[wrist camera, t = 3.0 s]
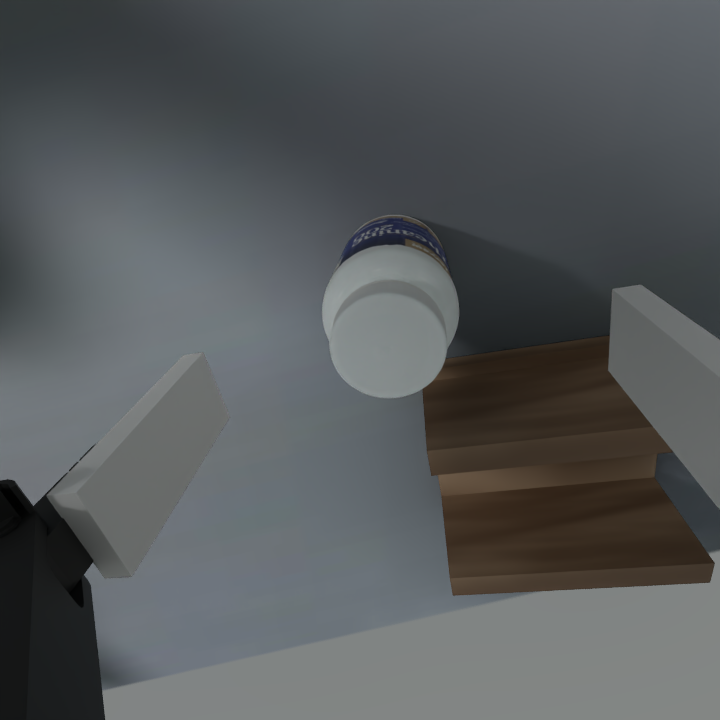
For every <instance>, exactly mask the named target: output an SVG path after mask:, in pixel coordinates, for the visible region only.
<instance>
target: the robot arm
mask: <svg viewBox="0 0 720 720" xmlns="http://www.w3.org/2000/svg"><path fill="white" fill-rule="evenodd" d="M608 371H609V372H610V373H611V375H612V376H613V377H614V378H615V380H616V381H617V382H618V383H619V385H620V386H621V387H622V388H623V390H624V391H625V392H626V393H627V395H628V396H629V397H630V398H631V400H632V401H633V402H634V403H635V405H636V406H637V407H638V408H639V410H640V411H641V412H642V413H643V415H644V416H645V417H646V418H647V420H648V421H649V422H650V423H651V425H652V426H653V427H654V428H655V430H656V431H657V432H658V433H659V435H660V436H661V437H662V438H663V440H664V441H665V442H666V443H667V445H668V446H669V447H670V448H671V450H672V451H673V452H674V453H675V455H676V456H677V457H678V458H679V460H680V461H681V462H682V463H683V465H684V466H685V467H686V468H687V470H688V471H689V472H690V473H691V475H692V476H693V477H694V478H695V480H696V481H697V482H698V483H699V485H700V486H701V487H702V488H703V490H704V491H705V492H706V493H707V495H708V496H709V497H710V498H711V500H712V501H713V502H714V503H715V505H716V506H717V507H718V508H719V510H720V340H719V339H718V338H716V337H715V336H714V335H712V334H711V333H709V332H708V331H706V330H705V329H704V328H702V327H701V326H699V325H698V324H696V323H695V322H694V321H692V320H691V319H689V318H688V317H686V316H685V315H684V314H682V313H681V312H679V311H678V310H676V309H675V308H674V307H672V306H671V305H669V304H668V303H666V302H665V301H664V300H662V299H661V298H659V297H658V296H656V295H655V294H654V293H652V292H651V291H649V290H648V289H647V288H645V287H644V286H642V285H635V286H628V287H622V288H615V289H612V303H611V323H610V343H609V364H608ZM229 418H230V415H229V413H228V411H227V408H226V406H225V403H224V401H223V399H222V396H221V394H220V391H219V389H218V387H217V384H216V382H215V379H214V377H213V374H212V372H211V370H210V367H209V365H208V362H207V360H206V358H205V355H204V353H203V352H201V353H195V354H188V355H183V356H182V357H181V358H180V359H179V360H178V361H177V362H176V363H175V364H174V365H173V366H172V367H171V368H170V369H169V370H168V371H167V372H166V374H165V375H164V376H163V377H162V378H161V379H160V380H159V381H158V382H157V383H156V384H155V385H154V386H153V387H152V388H151V389H150V390H149V391H148V392H147V393H146V394H145V395H144V396H143V397H142V398H141V399H140V400H139V401H138V402H137V403H136V404H135V405H134V406H133V407H132V408H131V409H130V410H129V411H128V412H127V413H126V414H125V415H124V416H123V418H122V419H121V420H120V421H119V422H118V423H117V424H116V425H115V426H114V427H113V428H112V429H111V430H110V431H109V432H108V433H107V434H106V435H105V436H104V437H103V438H102V439H101V440H100V441H99V442H98V443H97V444H95V445H94V446H92V447H91V448H90V449H89V450H88V451H87V452H86V453H85V454H84V455H83V456H82V457H81V458H80V462H77V463H76V464H75V465H74V466H73V467H72V468H71V469H70V470H69V473H66V474H65V475H64V476H63V477H62V478H61V479H60V480H59V481H58V482H57V483H56V484H55V485H54V486H53V487H52V488H51V489H50V490H49V491H48V492H47V493H46V494H45V495H44V496H43V497H42V498H41V499H40V500H39V501H38V502H37V503H36V504H35V505H34V506H33V505H32V504H31V503H30V501H29V500H28V498H27V497H26V496H25V494H24V493H23V492H22V490H21V489H20V488H19V486H18V485H17V484H16V482H15V481H13V480H8V479H7V480H2V481H0V720H105V714H104V705H103V695H102V686H101V677H100V667H99V658H98V649H97V639H96V630H95V621H94V612H93V602H92V593H91V585H90V583H89V581H88V580H87V578H86V577H85V576H84V574H85V572H86V571H87V569H88V568H89V567H90V565H91V564H92V563H94V564H95V565H96V567H97V568H98V570H99V571H100V572H101V574H102V575H103V577H104V578H122V577H132V576H133V575H134V573H135V571H136V570H137V568H138V567H139V565H140V563H141V562H142V560H143V558H144V557H145V555H146V554H147V552H148V550H149V549H150V547H151V545H152V544H153V542H154V540H155V539H156V537H157V536H158V534H159V532H160V531H161V529H162V527H163V526H164V524H165V523H166V521H167V519H168V518H169V516H170V514H171V513H172V511H173V509H174V508H175V506H176V505H177V503H178V501H179V500H180V498H181V496H182V495H183V493H184V492H185V490H186V488H187V487H188V485H189V483H190V482H191V480H192V478H193V477H194V475H195V474H196V472H197V470H198V469H199V467H200V465H201V464H202V462H203V461H204V459H205V457H206V456H207V454H208V452H209V451H210V449H211V447H212V446H213V444H214V443H215V441H216V439H217V438H218V436H219V434H220V433H221V431H222V430H223V428H224V426H225V425H226V423H227V421H228V420H229Z"/></svg>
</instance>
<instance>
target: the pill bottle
mask: <svg viewBox="0 0 720 720" xmlns="http://www.w3.org/2000/svg"><path fill="white" fill-rule="evenodd" d="M322 319H323V325H324V329H325V332H326V335H327V337H328V340H329V348H330V355H331V359H332V362H333V364H334V366H335V368H336V370H337V372H338V373H339V375H340V376H341V377H342V378H343V379H344V380H345V381H346V382H347V383H348V384H349V385H350V386H352V387H353V388H355V389H356V390H358V391H360V392H362V393H364V394H367V395H370V396H373V397H378V398H399V397H404V396H408V395H411V394H414V393H416V392H418V391H420V390H421V389H423V388H424V387H426V386H427V385H429V384H430V383H431V382H432V381H433V380H434V379H435V378H436V376H437V375H438V374H439V372H440V370H441V369H442V367H443V364H444V362H445V358H446V354H447V348H448V347H449V345H450V344H451V342H452V340H453V338H454V335H455V333H456V330H457V326H458V321H459V301H458V296H457V292H456V288H455V285H454V282H453V279H452V276H451V272H450V269H449V266H448V263H447V259H446V255H445V252H444V250H443V247H442V245H441V243H440V241H439V239H438V238H437V236H436V235H435V234H434V232H433V231H432V230H431V229H430V228H429V227H428V226H426V225H425V224H424V223H422V222H421V221H419V220H417V219H414V218H412V217H409V216H405V215H385V216H381V217H377V218H375V219H372V220H370V221H368V222H366V223H365V224H364V225H362V226H361V227H360V228H359V229H358V230H357V231H356V232H355V233H354V234H353V236H352V237H351V238H350V240H349V241H348V243H347V245H346V247H345V249H344V251H343V254H342V256H341V258H340V260H339V262H338V264H337V266H336V268H335V270H334V273H333V275H332V277H331V279H330V281H329V283H328V285H327V288H326V291H325V295H324V299H323V305H322Z"/></svg>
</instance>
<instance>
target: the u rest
mask: <svg viewBox="0 0 720 720" xmlns="http://www.w3.org/2000/svg"><path fill="white" fill-rule="evenodd" d="M609 343H610V335H608V336H601V337H594V338H587V339H580V340H573V341H566V342H559V343H552V344H545V345H538V346H531V347H524V348H517V349H510V350H503V351H496V352H489V353H482V354H475V355H468V356H461V357H454V358H447V359H445V362H444V364H443V367H442V369H441V370H440V372H439V374H438V375H437V376H436V378H435V379H434V380H433V381H432V382H431V383H430V384H429V385H427V386H426V387H424V388H423V403H424V417H425V431H426V444H427V454H428V460H429V465H430V471H431V476H434V475H438V479H439V485H440V490H441V496H442V506H443V516H444V526H445V535H446V545H447V555H448V565H449V575H450V582H451V587H452V593H453V596H454V595H473V594H493V593H513V592H533V591H553V590H573V589H592V588H612V587H632V586H652V585H669V584H670V585H671V584H691V583H709V582H710V580H711V576H712V572H713V568H714V564H715V563H714V562H713V560H712V559H711V557H710V556H709V554H708V553H707V552H706V550H705V549H704V547H703V546H702V544H701V543H700V542H699V540H698V539H697V537H696V536H695V534H694V533H693V532H692V530H691V529H690V527H689V526H688V525H687V523H686V522H685V520H684V519H683V517H682V516H681V515H680V513H679V512H678V510H677V509H676V507H675V506H674V505H673V503H672V502H671V500H670V499H669V497H668V496H667V495H666V493H665V492H664V490H663V489H662V487H661V486H660V485H659V483H658V482H657V480H656V479H655V469H656V461H657V454H659V453H670V452H673V451H672V450H671V448H670V447H669V446H668V445H667V443H666V442H665V441H664V440H663V438H662V437H661V436H660V435H659V433H658V432H657V431H656V430H655V428H654V427H653V426H652V425H651V423H650V422H649V421H648V420H647V418H646V417H645V416H644V415H643V413H642V412H641V411H640V410H639V408H638V407H637V406H636V405H635V403H634V402H633V401H632V400H631V398H630V397H629V396H628V395H627V393H626V392H625V391H624V390H623V388H622V387H621V386H620V385H619V383H618V382H617V381H616V380H615V378H614V377H613V376H612V375H611V373H610V372H609V371H608V364H609Z"/></svg>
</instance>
